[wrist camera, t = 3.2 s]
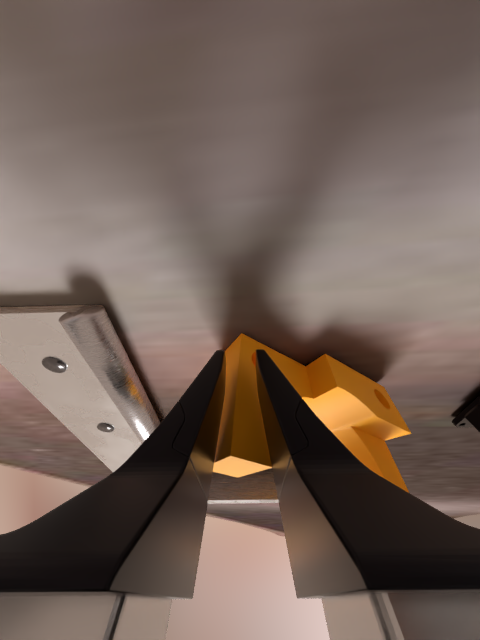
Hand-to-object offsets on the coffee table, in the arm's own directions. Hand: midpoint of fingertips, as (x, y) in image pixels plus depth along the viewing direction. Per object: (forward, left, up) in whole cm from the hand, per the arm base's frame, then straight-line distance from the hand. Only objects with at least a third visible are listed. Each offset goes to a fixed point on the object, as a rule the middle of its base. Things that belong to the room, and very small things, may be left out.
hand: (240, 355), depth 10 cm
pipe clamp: (-5, +4, -2) cm, 7 cm away
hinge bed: (+8, +10, -2) cm, 13 cm away
